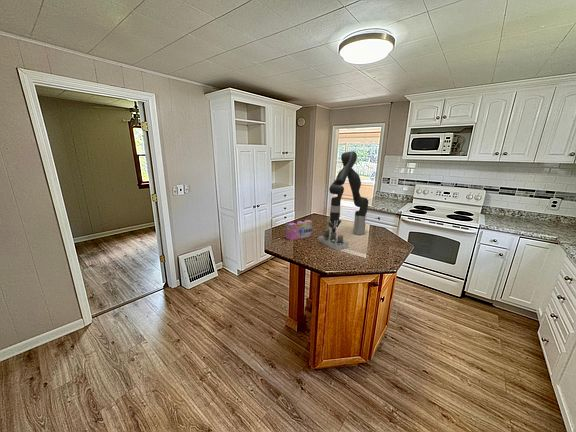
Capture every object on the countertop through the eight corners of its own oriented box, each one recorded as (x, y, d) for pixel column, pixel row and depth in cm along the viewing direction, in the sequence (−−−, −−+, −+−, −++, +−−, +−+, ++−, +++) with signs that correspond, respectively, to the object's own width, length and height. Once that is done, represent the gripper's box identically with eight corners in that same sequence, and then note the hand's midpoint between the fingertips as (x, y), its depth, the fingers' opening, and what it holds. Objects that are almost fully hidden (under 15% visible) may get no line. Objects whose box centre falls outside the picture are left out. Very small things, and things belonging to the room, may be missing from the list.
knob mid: (333, 237, 186) (333, 231, 185) (336, 239, 183) (337, 233, 182) (329, 238, 184) (329, 232, 183) (332, 240, 181) (333, 233, 180)
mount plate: (329, 238, 197) (329, 233, 196) (348, 247, 178) (348, 242, 177) (318, 240, 191) (318, 236, 190) (336, 250, 173) (336, 245, 172)
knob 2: (340, 240, 180) (340, 234, 178) (343, 242, 176) (344, 236, 175) (336, 241, 178) (336, 235, 176) (339, 243, 174) (340, 236, 173)
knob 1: (326, 234, 193) (327, 228, 192) (330, 236, 190) (330, 230, 188) (323, 235, 191) (323, 229, 190) (326, 237, 188) (326, 230, 186)
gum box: (308, 233, 209) (309, 218, 206) (313, 235, 203) (314, 221, 199) (285, 237, 197) (285, 222, 194) (290, 240, 191) (290, 224, 187)
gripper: (338, 209, 184) (336, 229, 189) (325, 210, 178) (323, 232, 182) (345, 211, 178) (343, 232, 182) (331, 213, 172) (330, 235, 176)
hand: (333, 232), depth 182 cm, fingers closed
